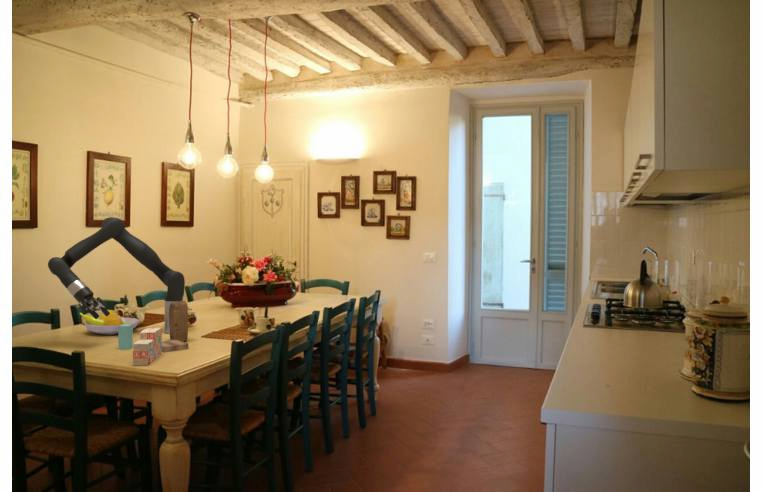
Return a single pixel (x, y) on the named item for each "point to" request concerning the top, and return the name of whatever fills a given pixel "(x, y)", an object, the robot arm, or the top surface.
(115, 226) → the robot arm
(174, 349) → the slab
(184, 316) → the block
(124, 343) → the post
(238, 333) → the top surface
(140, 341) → the stack of blocks
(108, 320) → the fruit bowl
